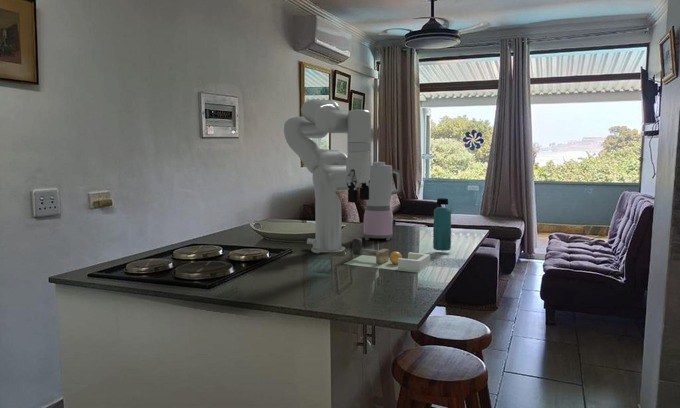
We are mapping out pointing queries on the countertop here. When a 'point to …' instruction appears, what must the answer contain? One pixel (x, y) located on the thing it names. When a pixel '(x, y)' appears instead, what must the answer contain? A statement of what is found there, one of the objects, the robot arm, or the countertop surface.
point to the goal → (414, 261)
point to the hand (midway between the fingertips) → (358, 201)
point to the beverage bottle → (442, 226)
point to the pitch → (371, 262)
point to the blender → (380, 202)
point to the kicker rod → (370, 251)
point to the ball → (395, 257)
